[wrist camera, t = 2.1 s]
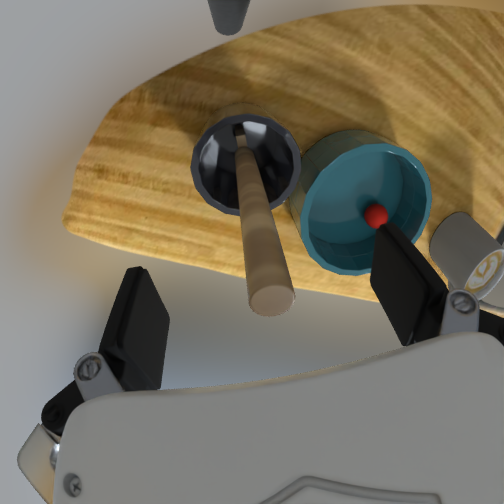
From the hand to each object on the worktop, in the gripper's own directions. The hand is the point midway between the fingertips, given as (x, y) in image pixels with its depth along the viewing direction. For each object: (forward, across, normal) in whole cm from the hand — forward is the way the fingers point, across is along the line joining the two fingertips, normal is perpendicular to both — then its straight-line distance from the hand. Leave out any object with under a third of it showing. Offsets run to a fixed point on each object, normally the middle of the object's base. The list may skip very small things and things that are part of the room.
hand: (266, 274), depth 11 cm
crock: (+21, 0, 0) cm, 21 cm away
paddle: (+20, 0, 0) cm, 20 cm away
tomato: (+19, -15, +10) cm, 26 cm away
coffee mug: (+21, -31, +20) cm, 42 cm away
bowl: (+21, -12, +8) cm, 25 cm away
